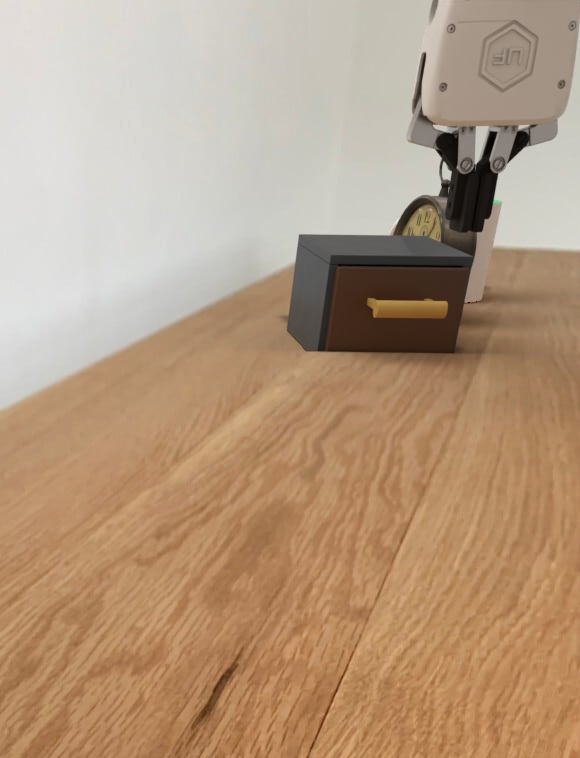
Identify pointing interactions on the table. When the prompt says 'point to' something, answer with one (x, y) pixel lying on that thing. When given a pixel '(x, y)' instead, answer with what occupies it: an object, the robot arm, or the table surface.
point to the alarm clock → (434, 221)
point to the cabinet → (330, 251)
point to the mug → (479, 254)
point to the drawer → (395, 308)
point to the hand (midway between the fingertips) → (465, 230)
